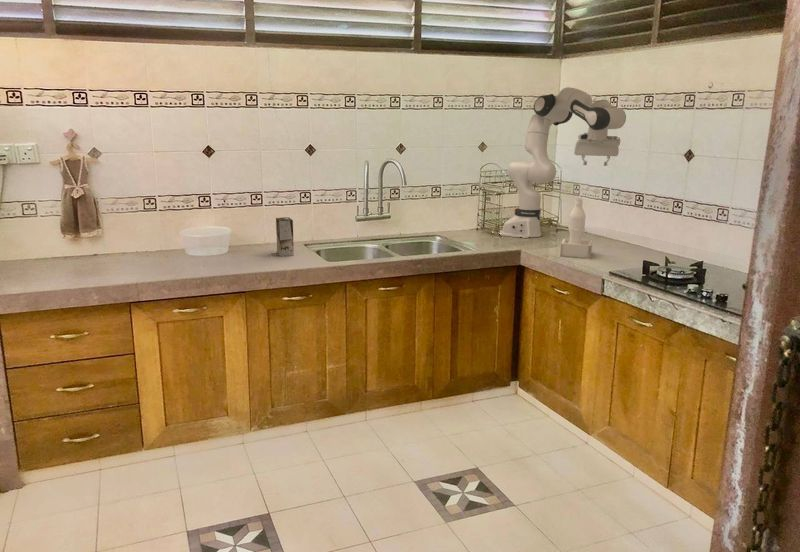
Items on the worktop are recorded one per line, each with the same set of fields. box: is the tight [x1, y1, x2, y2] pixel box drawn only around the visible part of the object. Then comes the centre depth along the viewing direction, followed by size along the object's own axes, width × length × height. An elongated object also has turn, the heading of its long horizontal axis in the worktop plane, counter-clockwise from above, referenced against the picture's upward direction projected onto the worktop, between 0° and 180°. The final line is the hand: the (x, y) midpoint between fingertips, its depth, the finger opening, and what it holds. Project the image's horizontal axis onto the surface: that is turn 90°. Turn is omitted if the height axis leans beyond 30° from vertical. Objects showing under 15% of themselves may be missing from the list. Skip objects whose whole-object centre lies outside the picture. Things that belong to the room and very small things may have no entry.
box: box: [559, 237, 593, 260], centre depth 295 cm, size 13×13×6 cm
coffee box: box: [275, 216, 295, 257], centre depth 289 cm, size 9×6×16 cm
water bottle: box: [567, 197, 586, 245], centre depth 293 cm, size 7×7×25 cm
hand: (595, 165), depth 308 cm, fingers open, 8 cm apart
